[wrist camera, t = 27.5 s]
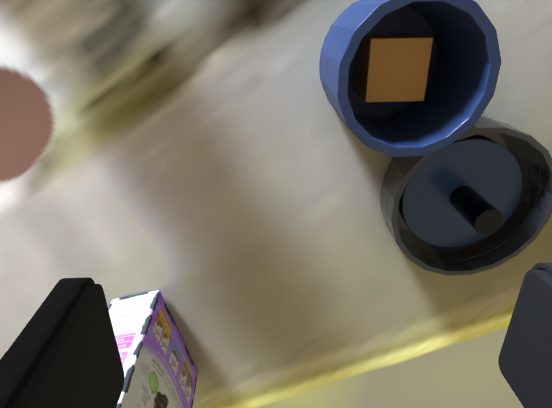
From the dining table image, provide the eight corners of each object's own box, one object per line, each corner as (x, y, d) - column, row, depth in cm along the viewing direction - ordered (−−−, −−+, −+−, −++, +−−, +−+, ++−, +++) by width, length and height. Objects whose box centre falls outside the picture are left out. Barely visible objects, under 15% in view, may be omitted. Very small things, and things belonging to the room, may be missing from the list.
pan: (389, 117, 36) (403, 130, 32) (549, 114, 36) (580, 125, 33) (373, 254, 42) (384, 277, 39) (509, 250, 43) (532, 272, 39)
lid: (406, 137, 36) (432, 160, 31) (529, 134, 36) (577, 156, 31) (392, 243, 41) (412, 279, 36) (500, 240, 41) (537, 275, 36)
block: (356, 34, 32) (370, 38, 28) (412, 33, 32) (433, 37, 28) (353, 91, 34) (365, 102, 30) (405, 90, 34) (424, 101, 30)
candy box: (109, 298, 44) (33, 447, 29) (161, 287, 43) (110, 432, 28) (154, 383, 50) (110, 542, 35) (200, 374, 49) (175, 531, 35)
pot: (321, -7, 31) (342, -11, 23) (453, -9, 32) (518, -13, 24) (317, 124, 36) (333, 158, 28) (432, 122, 36) (481, 154, 28)
